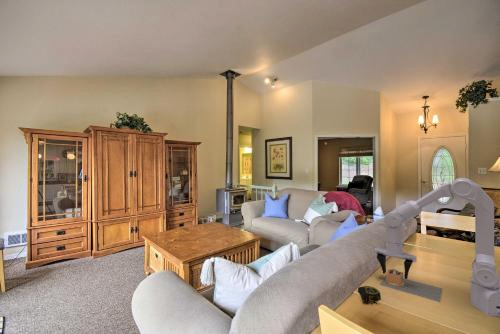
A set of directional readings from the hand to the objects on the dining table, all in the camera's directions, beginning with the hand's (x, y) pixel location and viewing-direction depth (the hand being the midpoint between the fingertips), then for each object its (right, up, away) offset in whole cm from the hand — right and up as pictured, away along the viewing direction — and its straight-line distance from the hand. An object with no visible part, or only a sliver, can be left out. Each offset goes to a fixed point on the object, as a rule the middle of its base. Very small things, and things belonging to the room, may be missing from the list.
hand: (394, 275), depth 98 cm
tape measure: (-16, -5, -10) cm, 19 cm away
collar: (0, -3, 0) cm, 2 cm away
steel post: (0, -4, 0) cm, 4 cm away
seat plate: (+4, -4, -4) cm, 7 cm away
